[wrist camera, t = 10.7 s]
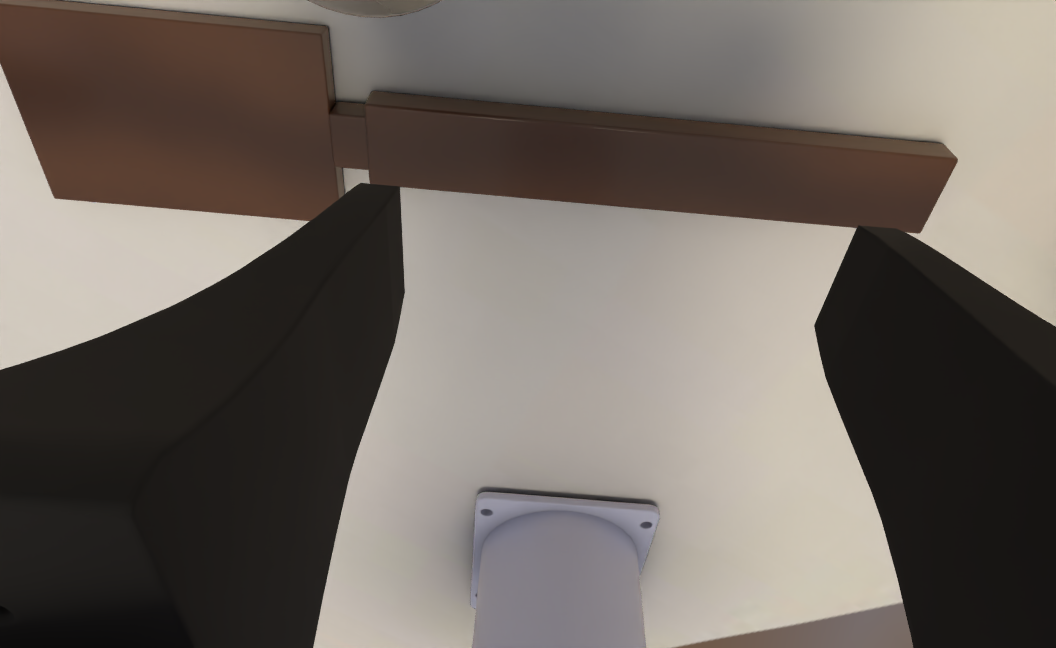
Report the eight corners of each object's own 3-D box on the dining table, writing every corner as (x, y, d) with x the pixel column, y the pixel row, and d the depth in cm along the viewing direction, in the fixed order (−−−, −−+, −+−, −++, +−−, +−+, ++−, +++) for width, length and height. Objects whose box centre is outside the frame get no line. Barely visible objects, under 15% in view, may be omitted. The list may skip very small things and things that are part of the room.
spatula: (886, 260, 22) (897, 279, 21) (66, 187, 22) (47, 204, 21) (972, 86, 19) (989, 101, 18) (-9, -7, 18) (-34, 4, 17)
